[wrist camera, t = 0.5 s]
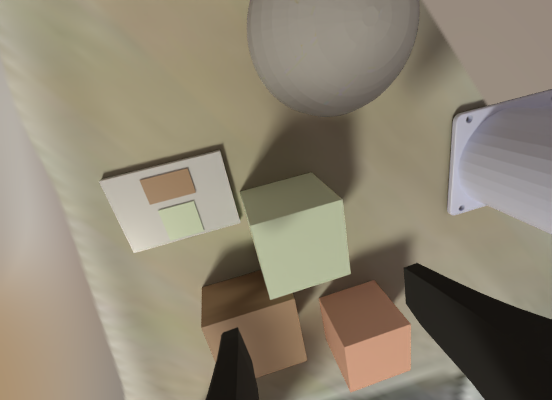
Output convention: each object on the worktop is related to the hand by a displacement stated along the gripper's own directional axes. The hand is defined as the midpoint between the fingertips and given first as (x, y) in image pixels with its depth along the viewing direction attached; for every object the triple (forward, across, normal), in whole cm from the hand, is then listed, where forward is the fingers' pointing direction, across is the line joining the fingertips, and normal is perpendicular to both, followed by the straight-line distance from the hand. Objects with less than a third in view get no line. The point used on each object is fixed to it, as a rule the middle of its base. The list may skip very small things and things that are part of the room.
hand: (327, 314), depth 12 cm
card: (+9, +6, -3) cm, 11 cm away
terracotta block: (+10, -4, +11) cm, 15 cm away
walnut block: (+10, +4, +7) cm, 12 cm away
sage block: (+10, 0, 0) cm, 10 cm away
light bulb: (+10, -2, -10) cm, 14 cm away
